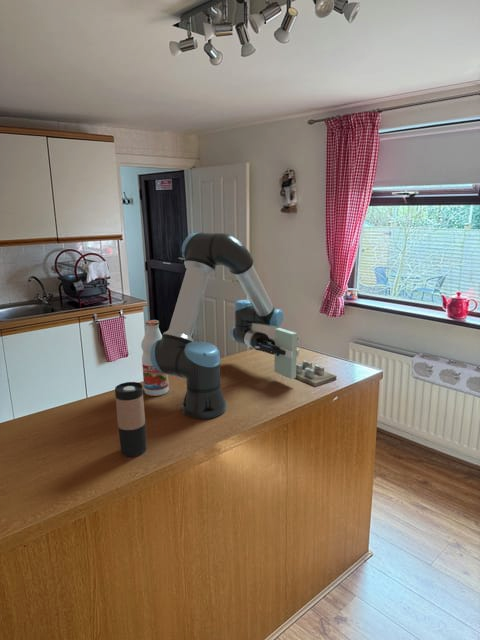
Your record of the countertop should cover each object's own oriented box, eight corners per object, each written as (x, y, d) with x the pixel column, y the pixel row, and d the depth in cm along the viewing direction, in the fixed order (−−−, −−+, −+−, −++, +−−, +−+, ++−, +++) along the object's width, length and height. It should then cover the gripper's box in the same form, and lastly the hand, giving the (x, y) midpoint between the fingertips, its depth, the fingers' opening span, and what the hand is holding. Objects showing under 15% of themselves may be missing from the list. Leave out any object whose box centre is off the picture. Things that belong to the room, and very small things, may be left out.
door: (272, 371, 178) (273, 328, 173) (279, 369, 180) (280, 327, 175) (291, 379, 169) (292, 334, 165) (298, 376, 171) (299, 332, 167)
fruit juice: (172, 387, 172) (168, 318, 165) (163, 397, 163) (159, 325, 156) (150, 385, 174) (145, 317, 167) (140, 395, 165) (134, 324, 158)
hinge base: (281, 372, 186) (281, 362, 185) (301, 366, 193) (302, 356, 192) (315, 386, 171) (315, 375, 169) (336, 379, 177) (336, 369, 176)
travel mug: (115, 450, 127) (109, 387, 122) (138, 441, 132) (133, 379, 127) (129, 461, 122) (123, 394, 117) (152, 450, 127) (147, 386, 122)
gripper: (271, 345, 191) (309, 359, 172) (242, 352, 182) (279, 367, 163) (271, 328, 189) (310, 341, 170) (242, 334, 180) (279, 348, 161)
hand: (295, 354), depth 167 cm, fingers closed on door, 2 cm apart
